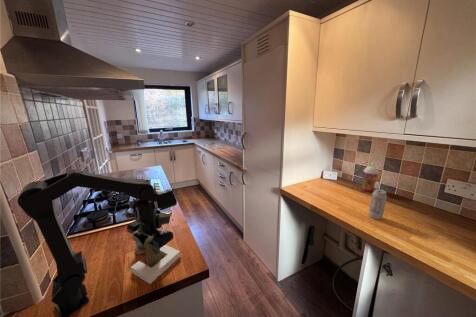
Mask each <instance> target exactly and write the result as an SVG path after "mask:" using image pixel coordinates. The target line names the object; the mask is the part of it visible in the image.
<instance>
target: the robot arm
mask: <svg viewBox="0 0 476 317" xmlns="http://www.w3.org/2000/svg"><path fill="white" fill-rule="evenodd" d="M77 187H78V188H86V189H93V190H97V191H98V190H99V191H105V192H106V191H107V192H113V193H118V194H124V195H126V196H128V197H130V198H133V199H132V201H129V202H130V203H129V204H128V205H129V207H130V209H131V210H134V209H136V214H137V218H135V220H134V221H132V222H130V223H128V225H127V226H126V231H127V233H129V234H130V235H132V234H133V233H134V232H135V233H134V234H133V236H134V237H135V238H136V239H137V240H138V241H139V242H140V243H141V244H142V245H143V246H144V242H145V240H146V239H147V238H148V237H151V236H154V237H153V239H152V241H151V242H150V243H149V244H150V246H151V247H152V249H153V251H154V252H155V254H158V253H159V251H160V248H161V247H163V246H164V245H168V243H169V242H171V241H172V240H174V232H173V231H170V230H168V229H165V228H164V229H162V230H158V229H161V228H162V227H163V225H169V224H170V222H171V215H170V214H168V213H166V212H161V211H164V210H166V209H170V208H172V207H175V206H177V203H178V200H177V198H176V196H175V195H176V194H175V193H174V190H173V189H172V188H167V189H166V190H162V191H159V192H157V191H156V190H155V188H154V186H153V185H152V184H151V183H150V182H149V181H147V180H146V179H143V178H142V179H141V178H131V179H126V178H125V179H123V178H118V177H114V176H109V175H108V176H107V175H103V174H98V173H97V174H96V173H92V172H87V171H82V170H80V169H71V170H69V171H67V172H65V173H62V174H58V175H54V176H52V177H49V178H46V179H45V180H36V181H32V182H29V183H27V184H25V186H24V187H23V188H22V190H21V191H20V193H19V195H18V197H17V205H18V206H19V208H20V209H21V210H22V211H23V212H24V213H25V215H27V216H28V217H29V218H31V220H33V221H34V222H36V225H37V226H38V228H39V231H40V233H41V234H42V237H43V239H44V241H45V243H46V245H47V247H48V249H49V251H50V254H51V257H52V258H53V261H54V262H55V263H56V264H55V265H56V275H55V277H54V278H53V280H52V286H51V287H52V289H51V299H50V300H51V302H52V303H53V304H54V308H53V309H54V311H55V312H56V313H57V314H58V316H60V317H70V316H71V315H72V314H74V313H75V312H77V311H78V310H79V309H80V308H81V307H83V306H84V305H85V304H87V303H88V302H89V300H90V299H89V297H88V291H87V288H86V285H85V284H84V283H83V282H84V281H85V279H86V274H88V270H87V269H88V268H87V259H86V258H85V257H83V251H82V250H80V251H78V252H75V251H74V250H73V249H72V246H71V245H70V241H69V239H68V236H67V235H66V232H65V230H64V227H63V226H62V223H61V221H60V219H59V217H58V213H57V211H56V203H55V201H56V200H57V199H59V198H61V197H62V196H64V195H65V194H67V193H69V192H70V191H72V190H74V189H76V188H77Z"/></svg>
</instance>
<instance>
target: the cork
mask: <svg viewBox="0 0 476 317" xmlns="http://www.w3.org/2000/svg"><path fill="white" fill-rule="evenodd" d="M153 237H154V236H151V237H150V236H149V237H148V238H147V239H146V240H145V242H144V247H145V248H146V257H145V258H146V260H145V261H146V264H145V265H147V266H149V267H151V268H152V267H153V266H154V265H156V264H157V263H158V262H159V261H160V260H162V259H163V258H164V257H163V256H162V255H161V252H160V251H159V253H158V254H155V252H154V251H153V249H152V247H151V246H150V244H149V243H150V242H151V241H152V239H153Z"/></svg>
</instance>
